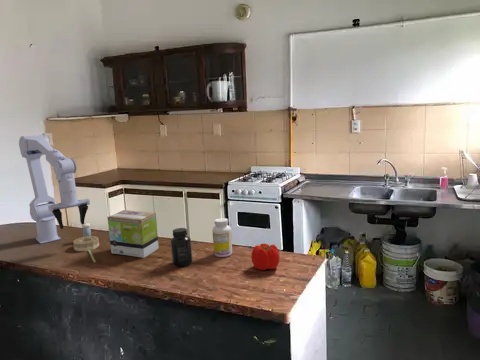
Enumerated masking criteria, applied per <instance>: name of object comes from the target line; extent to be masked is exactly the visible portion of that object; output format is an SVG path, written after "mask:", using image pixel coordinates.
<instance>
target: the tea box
mask: <svg viewBox="0 0 480 360" xmlns="http://www.w3.org/2000/svg"><path fill="white" fill-rule="evenodd" d="M107 224H108V225H107V227H108V235H109V236H108V237H109V243H110V251H111V254H112V255H113V254H114V255H115V254H116V255H123V256H128V257H129V256H130V257H134V258H136V257H137V258H143V259H144V258H146V257H148V256H150V255H151V254H153V253H154V252H156V251H157V250H159V247H160V246H159V236H158V222H157V212H152V211H139V210H130V209H129V210H127V209H123V210H121V211H118V212H117V213H114V214H111V215H109V216H107Z"/></svg>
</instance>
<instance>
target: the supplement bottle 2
mask: <svg viewBox="0 0 480 360" xmlns="http://www.w3.org/2000/svg"><path fill="white" fill-rule="evenodd" d="M228 224H229V219H228V218H226V217H220V218H216V219H214V226H213V227H212V244H213V253H214V254H213V255H214V256H215V257H219V258H225V257H230V256H231V255H232V254H233V238H232V237H233V236H232V228H231V226H230V225H228Z"/></svg>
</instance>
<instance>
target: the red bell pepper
mask: <svg viewBox="0 0 480 360" xmlns="http://www.w3.org/2000/svg"><path fill="white" fill-rule="evenodd" d="M280 257H281V255H280V251H279V249H278V247H277V246H276V245H275V244H268V243H265V242H264V243H260V244H258V245H257V244H256V245H255V246H254V247H253V249H252V252H251V262H252V265H253V267H254V268H256V269H257V270H260V271H265V270H268V269H269V270H274V269H276V268H277V267H278V266H279V263H280V260H281V259H280Z"/></svg>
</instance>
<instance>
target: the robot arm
mask: <svg viewBox="0 0 480 360" xmlns="http://www.w3.org/2000/svg"><path fill="white" fill-rule="evenodd" d="M18 147H19V150H20V154H21V157H22V158H24V159H25V160H26V163H27V169H28V172H29V176H30V180H31V184H32V189H33V193H34V198H33V199H32V200H31V202H30V203H29V215H30V217H31V219H32V220H33V221H35V226H36V234H37V237H35V240H36V241H37V242H38V244H42V245H43V244H47V243H49V242H50V243H51V242H54V241H59V240H62V239H61V237H60V236H59V235H58V229H57V223H58V225H59V228H60V229H61V230H62V229H64V224H63V223H64V222H63V213H62V212H61V210H64V209H71V208H75V207H77V208H78V213H79V222H80V224H81V225H82V224H85V219H86V214H87V211H88V209H89V206H88V205H91V202H90V199H89V198H84V199H78V196H77V195H78V194H77V187H76V180H75V179H76V178H75V173H76V171H77V163H76V162H75V160H74V159H73V157H72V158H71V157H66V156H65V155H64V154H62V152H61V151H59V150H58V149H54V148H53V147H52V145H50V140H49V137H48V136H47V134H38V135H36V134H35V135H26V136H25V135H21V136H20V137H19V140H18ZM42 156H45V160H46V162H47V163H48V164H50V165H51V167H52V169H53V172H54V175H55V179H56V180H57V182H58V191H59V198H60V199H59V200H60V203H59V202H58V203H57V201H56V198H54V197H52V196H51V195H49V193H48V189H47V185H46V180H45V177H44V175H45V174H44V172H43V168H42V167H43V166H42V163H41V157H42ZM56 220H57V222H56Z"/></svg>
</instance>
